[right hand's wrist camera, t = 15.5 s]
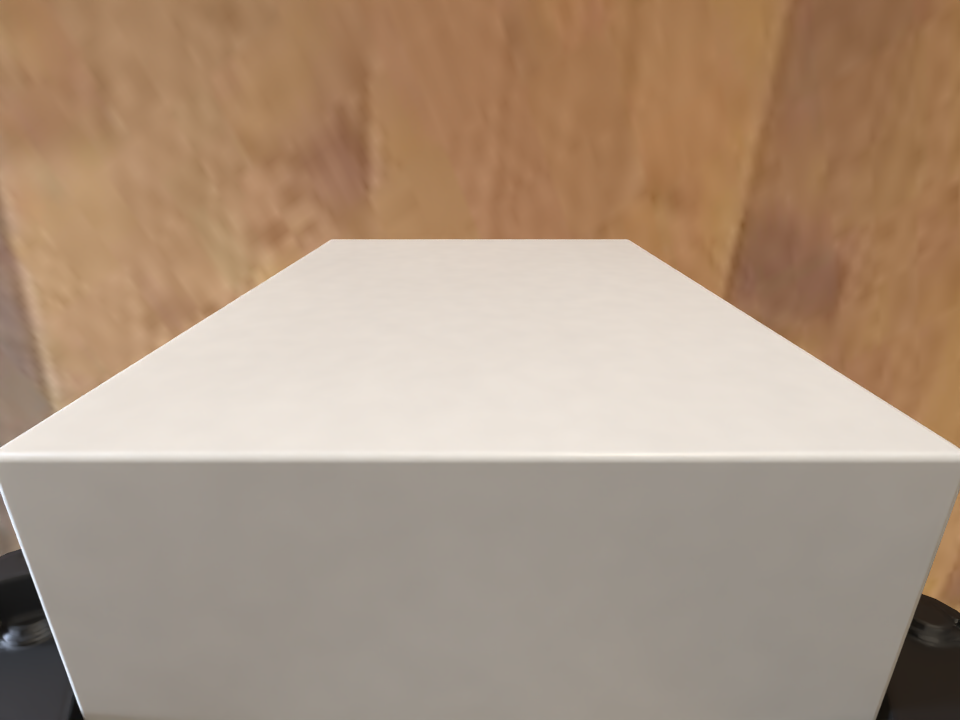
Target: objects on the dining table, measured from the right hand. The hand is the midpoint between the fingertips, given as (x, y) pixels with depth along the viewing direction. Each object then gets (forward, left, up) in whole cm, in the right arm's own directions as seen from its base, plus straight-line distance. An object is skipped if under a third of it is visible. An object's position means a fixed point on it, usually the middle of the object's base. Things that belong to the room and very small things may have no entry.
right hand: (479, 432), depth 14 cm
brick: (0, 0, -4) cm, 4 cm away
